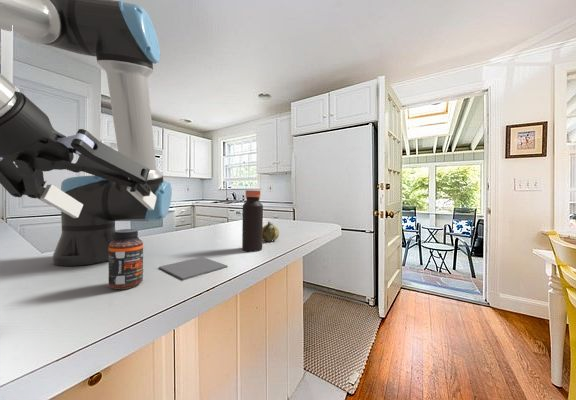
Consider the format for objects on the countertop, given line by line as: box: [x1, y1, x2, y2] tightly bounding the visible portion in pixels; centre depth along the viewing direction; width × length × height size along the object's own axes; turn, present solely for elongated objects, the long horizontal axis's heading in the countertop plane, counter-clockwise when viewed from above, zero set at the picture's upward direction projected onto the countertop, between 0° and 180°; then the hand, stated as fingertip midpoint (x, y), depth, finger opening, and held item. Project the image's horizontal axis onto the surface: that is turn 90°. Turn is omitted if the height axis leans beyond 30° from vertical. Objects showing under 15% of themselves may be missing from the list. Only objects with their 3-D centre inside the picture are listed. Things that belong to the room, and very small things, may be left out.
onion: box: [262, 221, 280, 242], centre depth 95 cm, size 8×8×8 cm
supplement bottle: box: [108, 228, 144, 290], centre depth 49 cm, size 6×6×11 cm
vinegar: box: [241, 190, 264, 252], centre depth 81 cm, size 7×7×20 cm
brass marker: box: [113, 285, 138, 291], centre depth 50 cm, size 4×4×1 cm
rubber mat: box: [158, 256, 228, 281], centre depth 61 cm, size 12×12×1 cm
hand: (116, 207), depth 43 cm, fingers open, 13 cm apart
